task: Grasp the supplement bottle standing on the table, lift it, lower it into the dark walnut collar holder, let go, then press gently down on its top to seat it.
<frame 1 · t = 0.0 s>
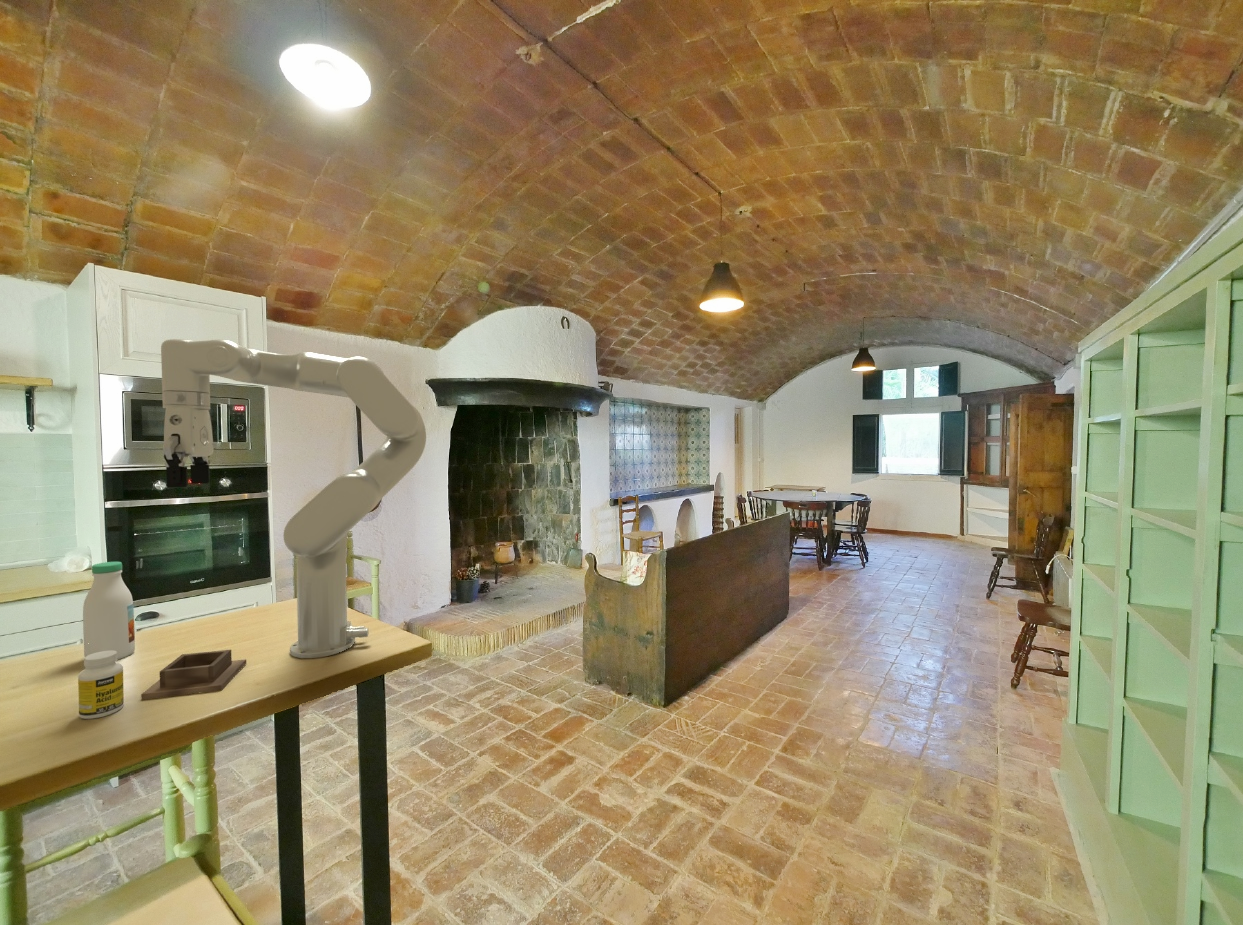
hand: (189, 485, 108), 37 cm above the table, tool pointing down, fingers open, 9 cm apart
collar holder: (197, 680, 100), on the table
supplement bottle: (102, 713, 89), on the table
milk bottle: (110, 657, 112), on the table
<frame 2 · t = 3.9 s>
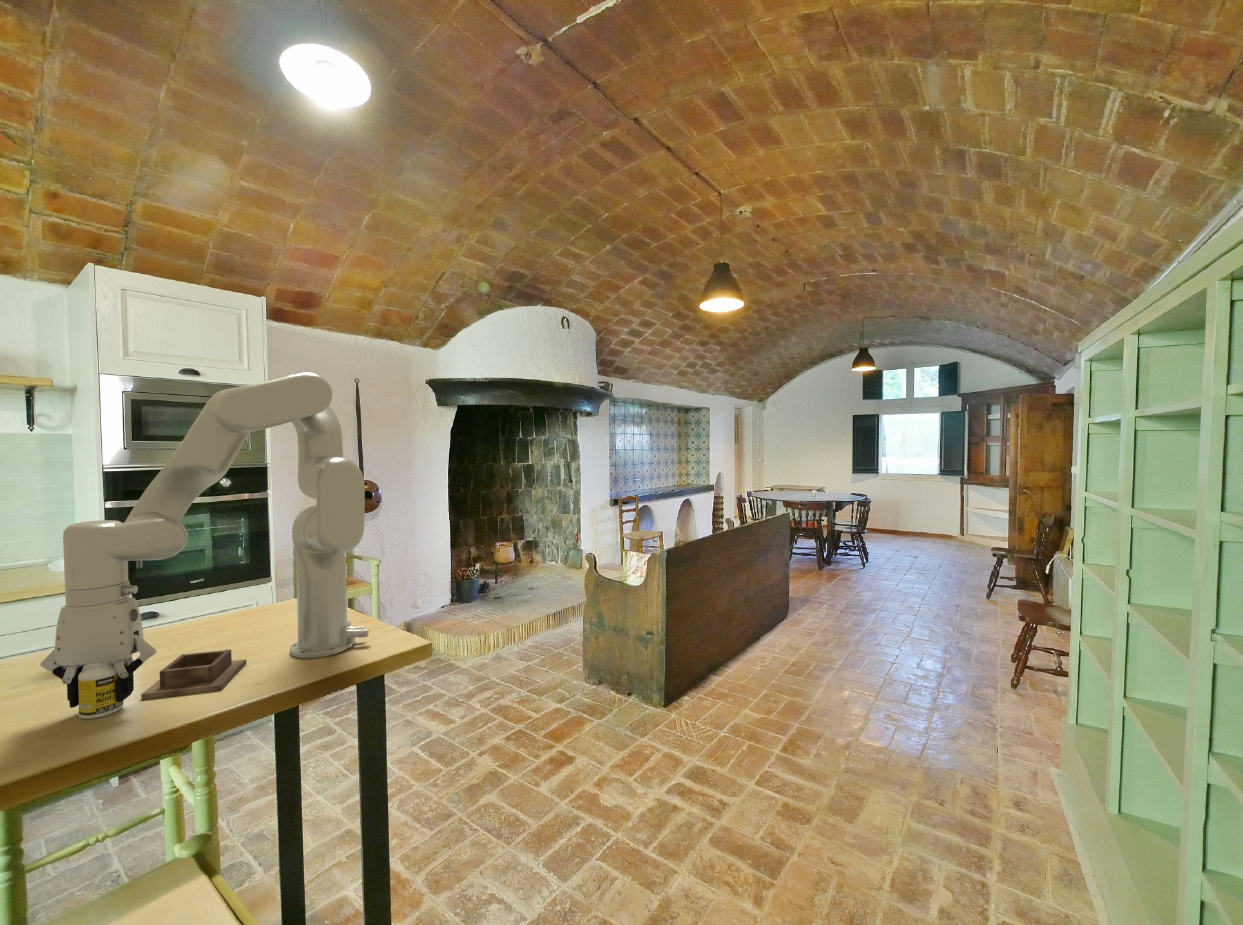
hand: (101, 700, 89), 2 cm above the table, tool pointing down, fingers closed on supplement bottle, 5 cm apart
supplement bottle: (102, 712, 89), on the table, touching gripper
everything else where it was.
when the fingers open (5 cm above the table, at t = 9.4 s): supplement bottle drops 2 cm, resting on collar holder.
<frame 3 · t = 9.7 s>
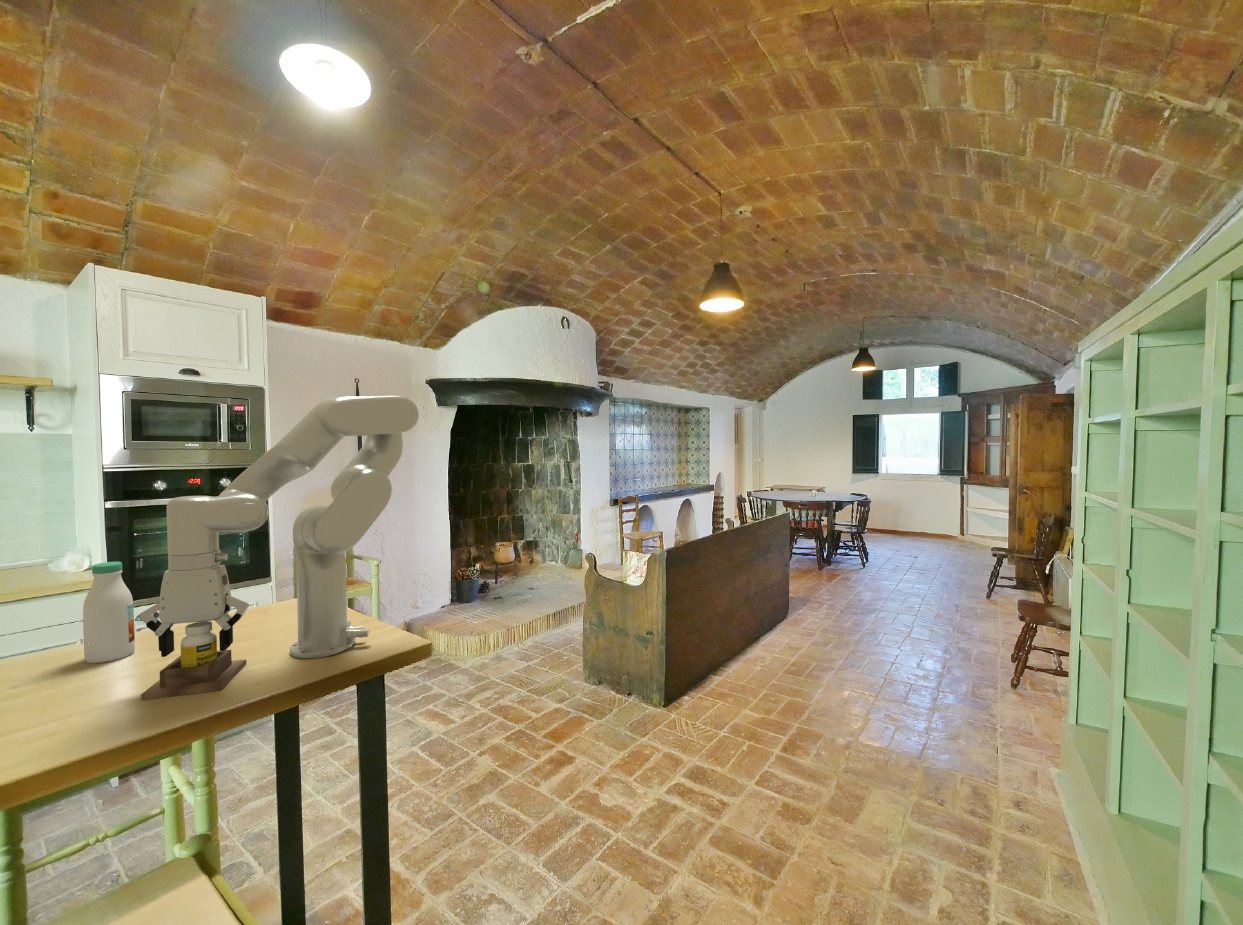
hand: (197, 651, 100), 6 cm above the table, tool pointing down, fingers open, 8 cm apart
supplement bottle: (199, 676, 101), point 1 cm above the table, touching collar holder
everything else where it was.
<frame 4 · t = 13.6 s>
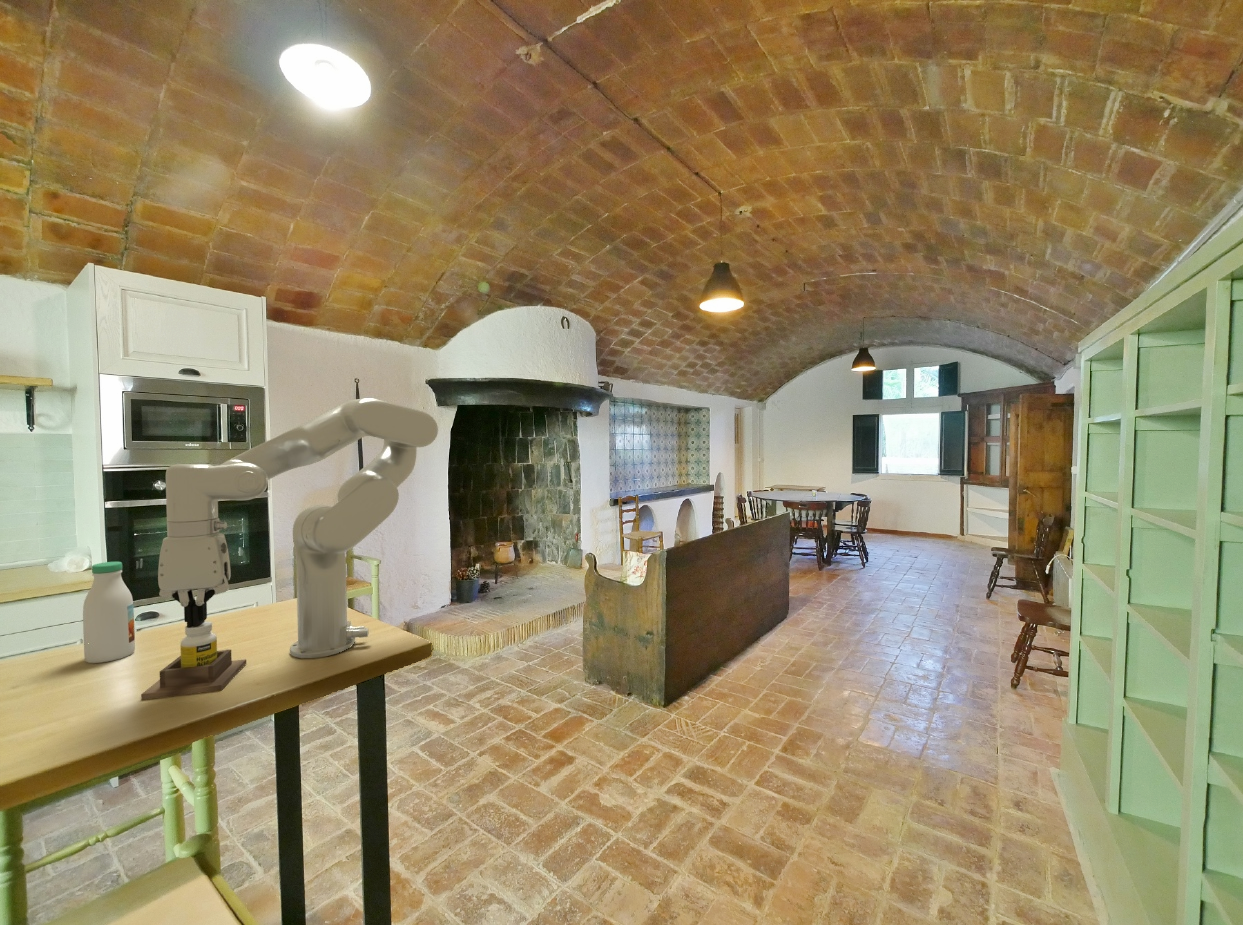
hand: (196, 624, 100), 11 cm above the table, tool pointing down, fingers closed
supplement bottle: (199, 676, 101), point 1 cm above the table, touching collar holder, gripper
everything else where it was.
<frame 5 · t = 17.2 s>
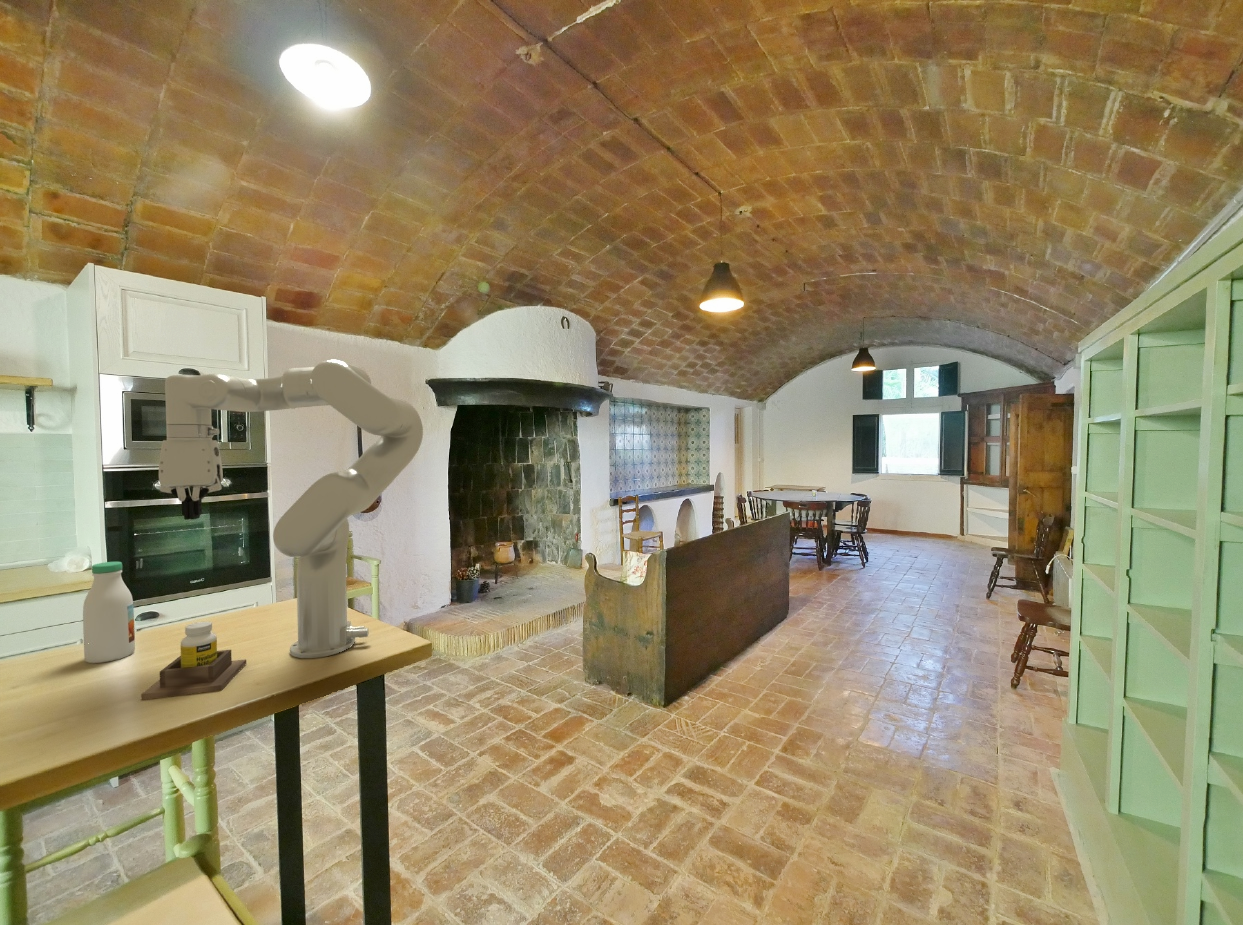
hand: (192, 518, 113), 29 cm above the table, tool pointing down, fingers closed
supplement bottle: (199, 676, 101), point 1 cm above the table, touching collar holder
everything else where it was.
at the end: supplement bottle 0.3 cm off-centre on the collar holder, point 0.8 cm above the collar holder's base; supplement bottle tilted 0°; the gripper is holding nothing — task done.
